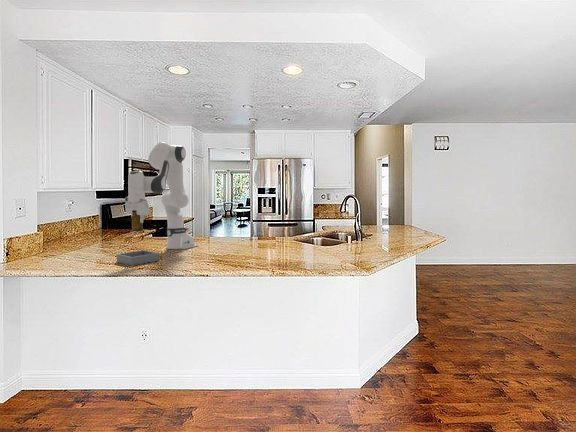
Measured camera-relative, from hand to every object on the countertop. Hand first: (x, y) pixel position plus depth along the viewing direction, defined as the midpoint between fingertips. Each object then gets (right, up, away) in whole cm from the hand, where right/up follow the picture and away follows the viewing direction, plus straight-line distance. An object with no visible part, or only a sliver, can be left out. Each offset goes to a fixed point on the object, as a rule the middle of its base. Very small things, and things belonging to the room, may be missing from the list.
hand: (137, 222), depth 252 cm
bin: (-1, -23, +2) cm, 23 cm away
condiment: (+1, -5, 0) cm, 5 cm away
